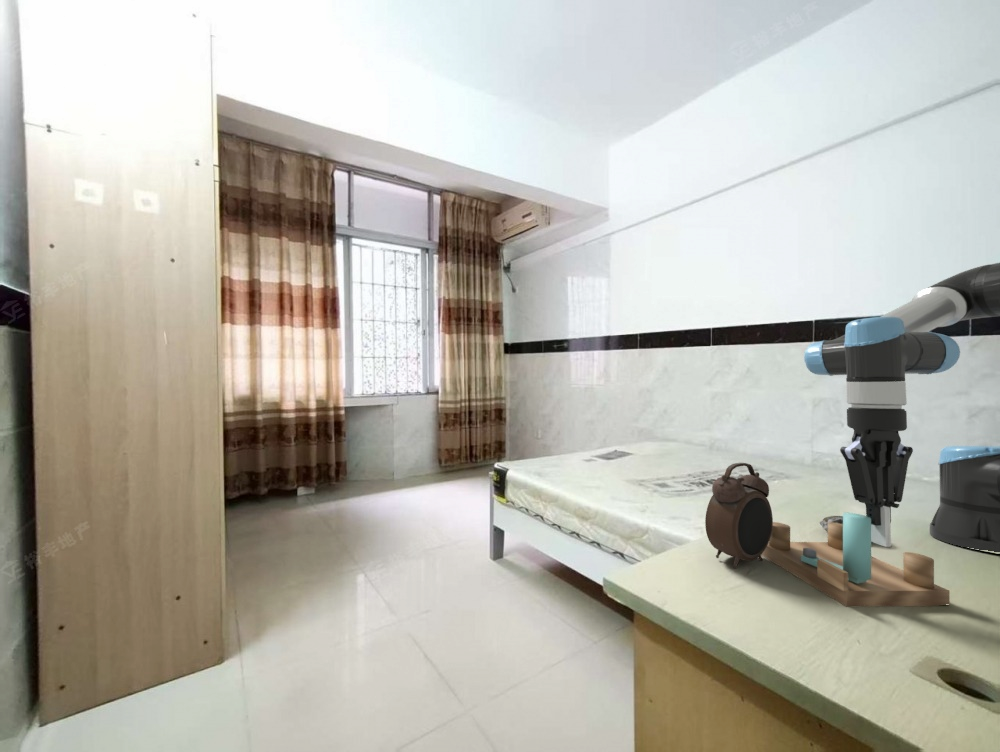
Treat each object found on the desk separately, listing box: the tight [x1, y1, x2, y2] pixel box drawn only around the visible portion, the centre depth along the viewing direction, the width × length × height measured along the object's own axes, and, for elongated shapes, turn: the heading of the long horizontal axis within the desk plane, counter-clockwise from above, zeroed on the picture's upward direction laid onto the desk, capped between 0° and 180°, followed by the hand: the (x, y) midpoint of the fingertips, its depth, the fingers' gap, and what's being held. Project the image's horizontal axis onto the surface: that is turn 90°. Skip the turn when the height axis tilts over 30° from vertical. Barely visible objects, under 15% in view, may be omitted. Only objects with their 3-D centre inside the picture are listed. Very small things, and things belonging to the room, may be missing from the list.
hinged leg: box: [801, 512, 872, 584], centre depth 70 cm, size 4×10×11 cm, turn 19°
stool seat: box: [761, 521, 951, 608], centre depth 75 cm, size 18×20×7 cm
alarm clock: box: [704, 462, 774, 569], centre depth 80 cm, size 14×7×20 cm, turn 117°
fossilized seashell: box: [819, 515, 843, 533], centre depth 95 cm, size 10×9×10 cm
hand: (879, 543), depth 67 cm, fingers closed
